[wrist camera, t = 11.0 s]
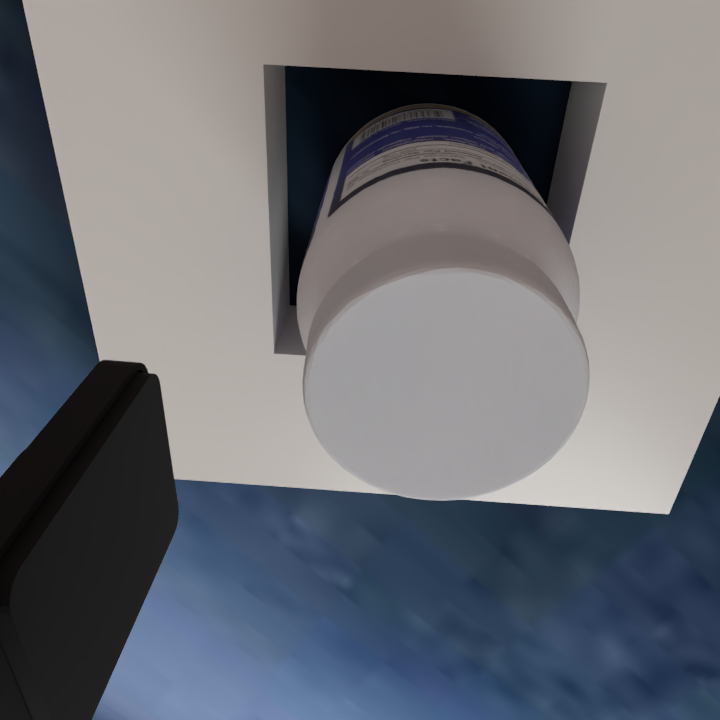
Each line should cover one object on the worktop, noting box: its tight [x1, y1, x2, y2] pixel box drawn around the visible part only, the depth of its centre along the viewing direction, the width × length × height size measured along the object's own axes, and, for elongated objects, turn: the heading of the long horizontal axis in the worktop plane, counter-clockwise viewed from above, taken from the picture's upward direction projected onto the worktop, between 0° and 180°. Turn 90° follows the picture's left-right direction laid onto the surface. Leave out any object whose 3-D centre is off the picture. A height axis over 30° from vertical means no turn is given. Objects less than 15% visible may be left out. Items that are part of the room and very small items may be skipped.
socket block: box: [22, 0, 720, 514], centre depth 17 cm, size 18×18×3 cm
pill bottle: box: [297, 103, 590, 501], centre depth 14 cm, size 6×6×10 cm
